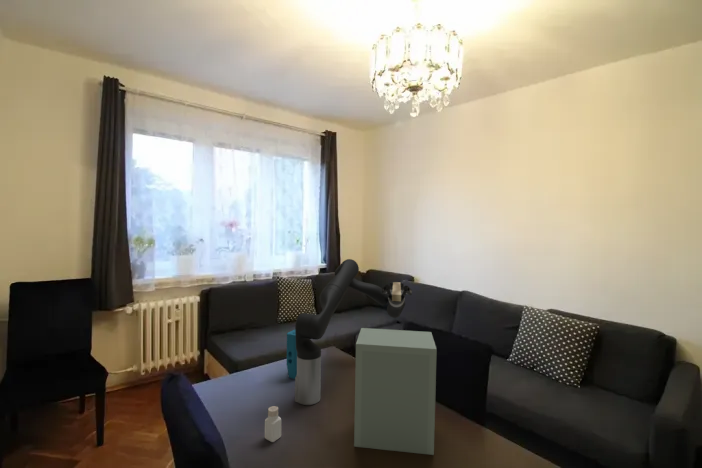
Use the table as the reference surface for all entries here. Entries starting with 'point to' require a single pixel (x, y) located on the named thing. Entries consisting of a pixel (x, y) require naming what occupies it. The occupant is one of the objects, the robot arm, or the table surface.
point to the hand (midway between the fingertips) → (396, 284)
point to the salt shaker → (273, 424)
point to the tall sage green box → (395, 390)
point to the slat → (396, 291)
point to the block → (291, 354)
